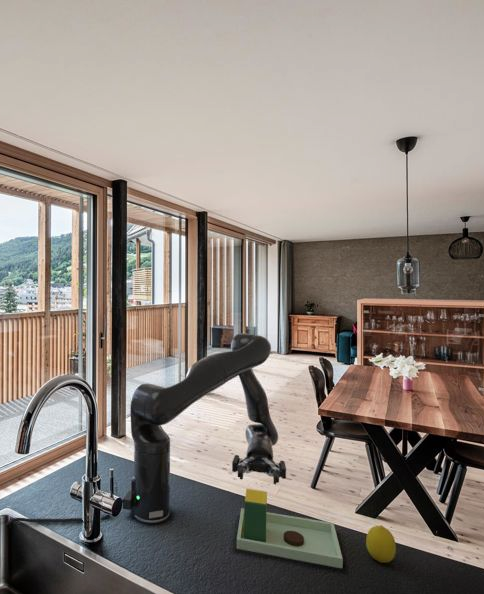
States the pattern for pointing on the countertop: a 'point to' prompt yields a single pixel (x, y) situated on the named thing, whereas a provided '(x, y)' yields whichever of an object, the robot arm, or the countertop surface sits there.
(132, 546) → the countertop surface
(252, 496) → the sponge
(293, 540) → the brown round disc
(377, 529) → the lemon
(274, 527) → the tray
